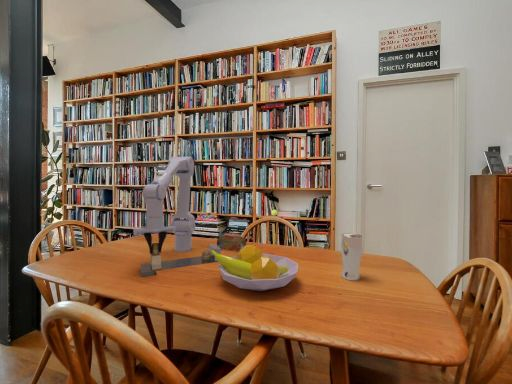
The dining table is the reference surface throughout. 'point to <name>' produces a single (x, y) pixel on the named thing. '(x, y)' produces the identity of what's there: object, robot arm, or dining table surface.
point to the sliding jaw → (155, 257)
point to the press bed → (180, 262)
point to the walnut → (206, 255)
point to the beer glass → (351, 255)
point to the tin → (231, 242)
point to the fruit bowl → (256, 269)
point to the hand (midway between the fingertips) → (155, 252)
